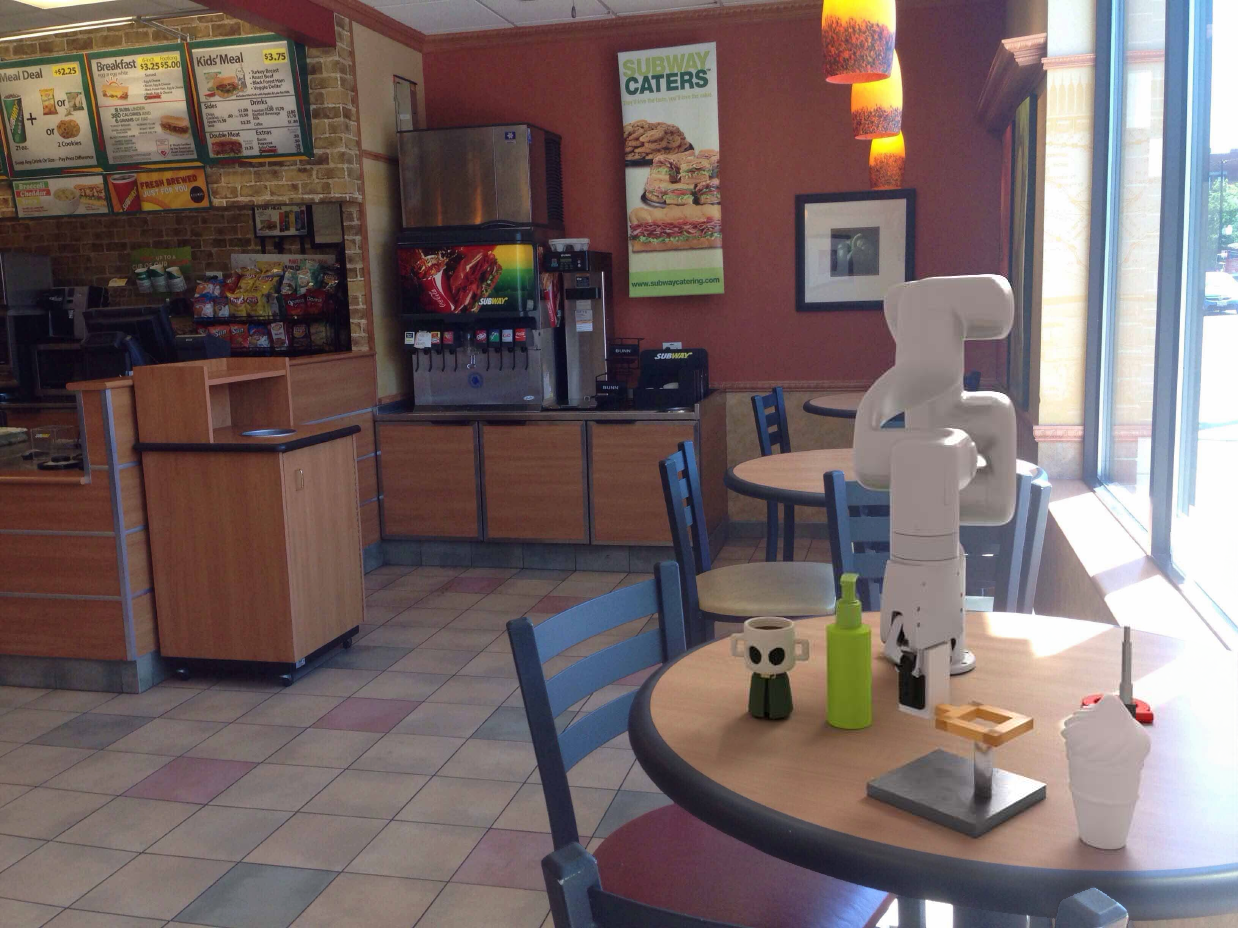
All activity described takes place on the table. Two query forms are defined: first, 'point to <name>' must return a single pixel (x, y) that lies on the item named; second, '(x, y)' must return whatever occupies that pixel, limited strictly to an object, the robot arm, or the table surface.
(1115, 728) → the soft serve ice cream cone
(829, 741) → the table surface
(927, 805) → the plate
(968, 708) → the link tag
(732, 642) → the character mug
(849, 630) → the soap dispenser
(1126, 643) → the tow hook
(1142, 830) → the table surface
